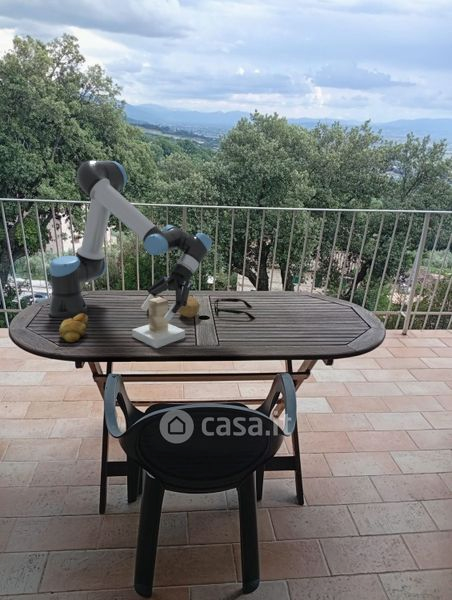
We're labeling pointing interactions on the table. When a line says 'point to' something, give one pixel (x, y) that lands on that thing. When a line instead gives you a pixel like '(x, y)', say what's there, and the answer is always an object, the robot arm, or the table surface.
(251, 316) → the glasses
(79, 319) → the bread roll
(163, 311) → the beech block
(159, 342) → the stone tile base
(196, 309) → the potato
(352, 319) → the table surface
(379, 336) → the table surface
